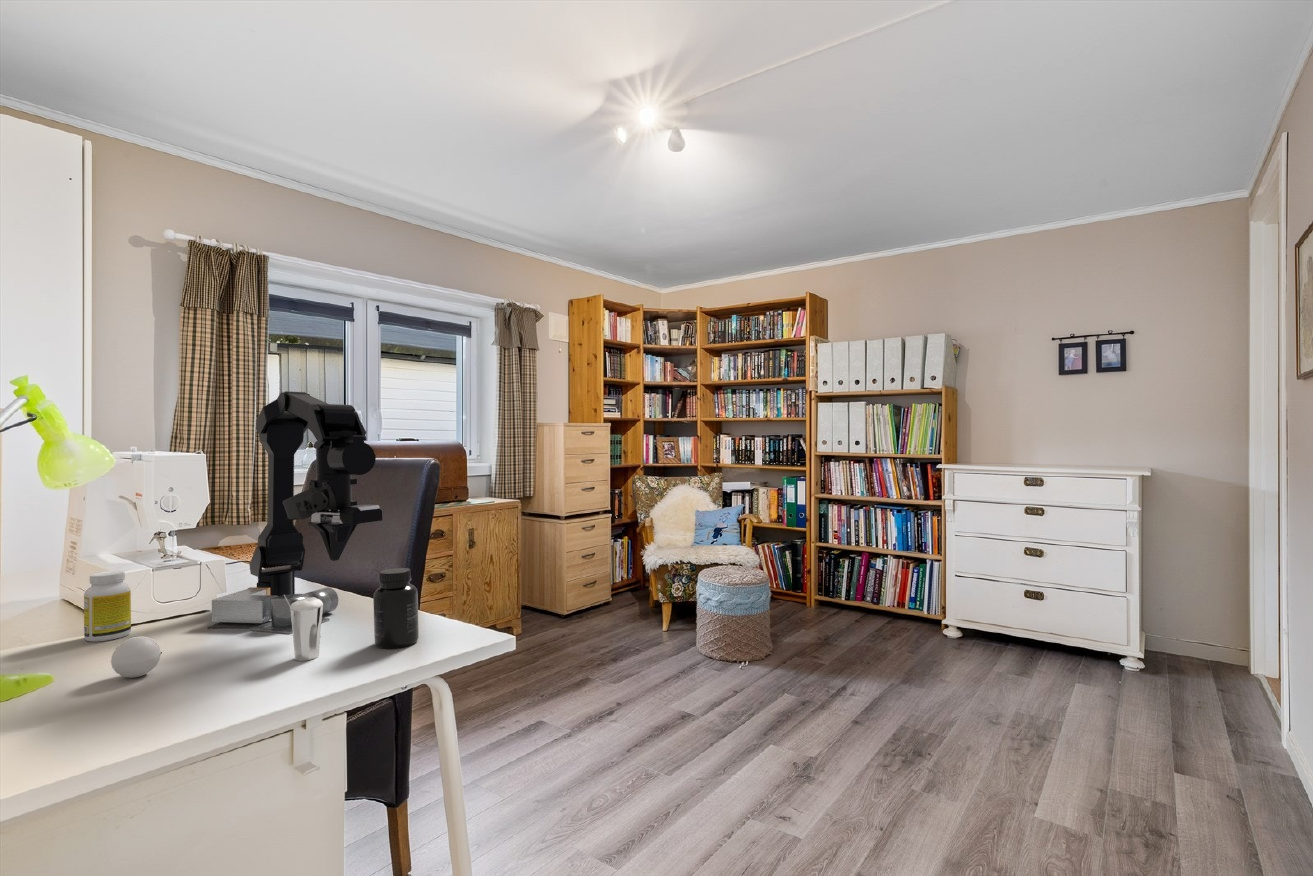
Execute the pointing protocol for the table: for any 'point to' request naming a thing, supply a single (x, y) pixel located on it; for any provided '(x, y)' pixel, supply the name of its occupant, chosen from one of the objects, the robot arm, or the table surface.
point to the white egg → (136, 657)
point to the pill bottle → (107, 607)
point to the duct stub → (282, 610)
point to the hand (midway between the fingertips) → (334, 560)
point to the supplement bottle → (395, 610)
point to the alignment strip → (235, 625)
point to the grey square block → (243, 606)
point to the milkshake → (306, 627)
